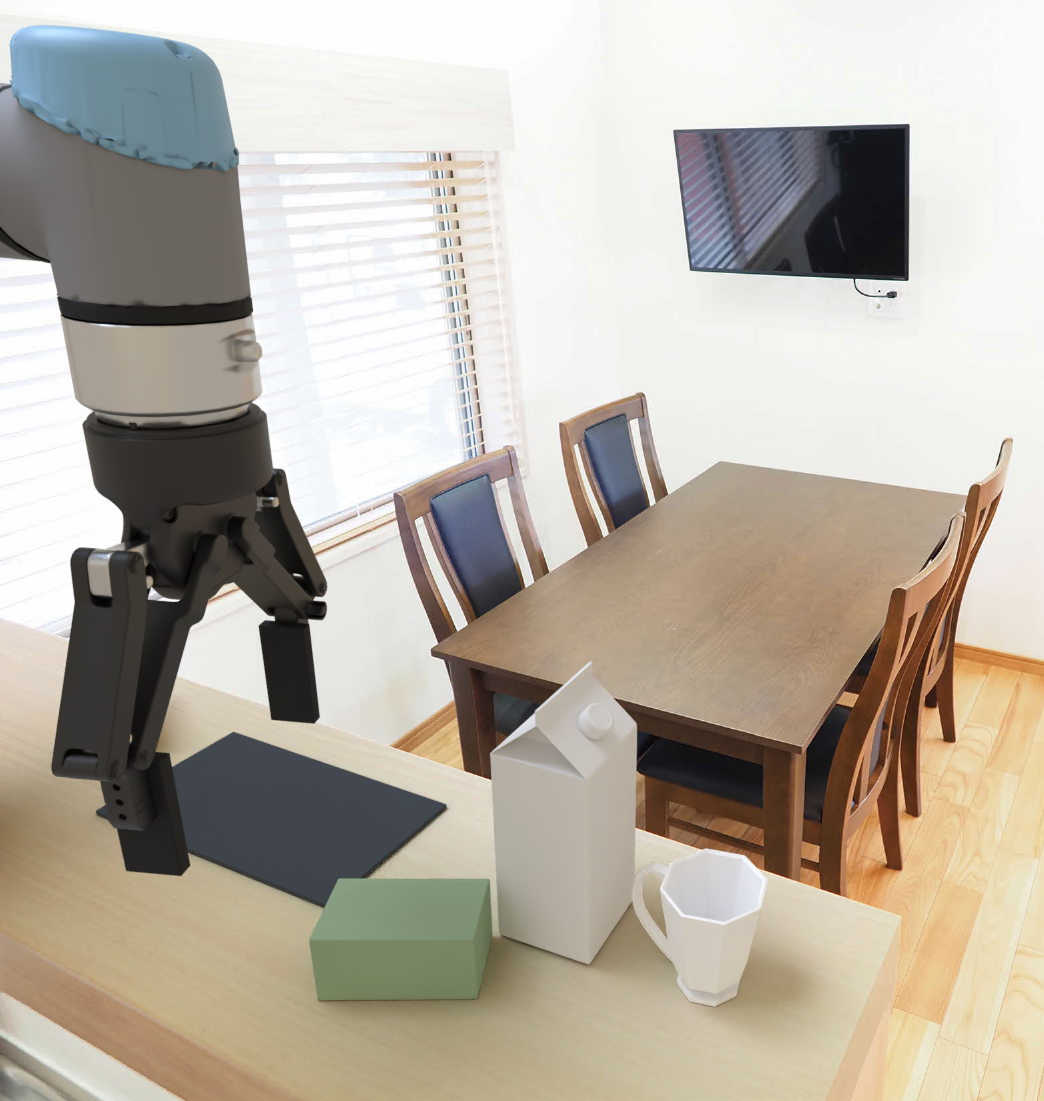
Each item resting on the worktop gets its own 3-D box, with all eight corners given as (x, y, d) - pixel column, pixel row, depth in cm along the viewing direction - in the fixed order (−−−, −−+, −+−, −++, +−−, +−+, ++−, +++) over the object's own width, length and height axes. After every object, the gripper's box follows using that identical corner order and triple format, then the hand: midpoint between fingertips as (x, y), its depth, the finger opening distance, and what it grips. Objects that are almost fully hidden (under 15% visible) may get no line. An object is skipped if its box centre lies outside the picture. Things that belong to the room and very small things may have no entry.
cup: (722, 1043, 58) (728, 941, 55) (600, 966, 63) (600, 870, 60) (781, 972, 63) (790, 876, 60) (665, 907, 68) (668, 816, 65)
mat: (96, 814, 75) (95, 810, 74) (234, 735, 86) (233, 731, 86) (328, 909, 66) (327, 905, 66) (446, 807, 78) (446, 803, 77)
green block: (317, 1001, 59) (308, 939, 57) (345, 935, 64) (338, 877, 62) (477, 999, 60) (473, 939, 58) (493, 935, 65) (489, 878, 63)
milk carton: (498, 936, 65) (486, 698, 58) (550, 872, 71) (545, 650, 64) (588, 967, 63) (587, 724, 56) (635, 898, 69) (639, 672, 62)
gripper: (62, 496, 32) (161, 966, 40) (366, 364, 55) (391, 678, 63) (-151, 478, 32) (-11, 950, 40) (241, 355, 55) (282, 669, 63)
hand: (235, 785), depth 52 cm, fingers open, 13 cm apart
